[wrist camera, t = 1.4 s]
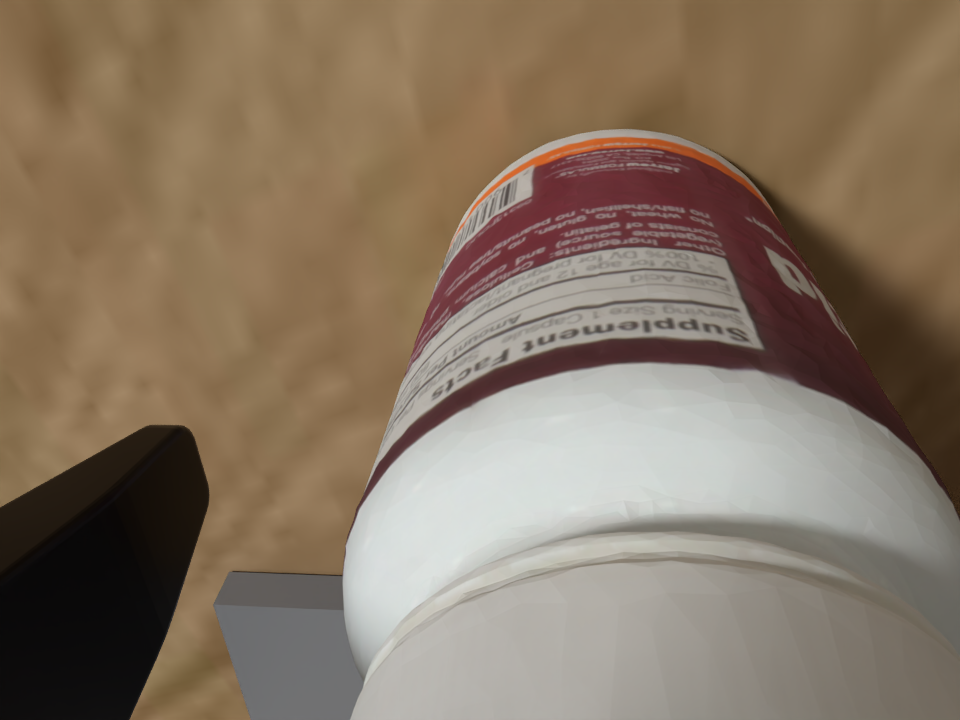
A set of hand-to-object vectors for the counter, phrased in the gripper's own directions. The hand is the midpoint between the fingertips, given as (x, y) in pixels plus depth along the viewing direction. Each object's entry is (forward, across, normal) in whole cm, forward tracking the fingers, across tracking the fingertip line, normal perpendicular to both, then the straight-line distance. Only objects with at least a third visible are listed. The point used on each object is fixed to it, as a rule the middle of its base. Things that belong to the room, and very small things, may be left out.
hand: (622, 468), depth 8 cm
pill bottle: (+4, 0, 0) cm, 4 cm away
